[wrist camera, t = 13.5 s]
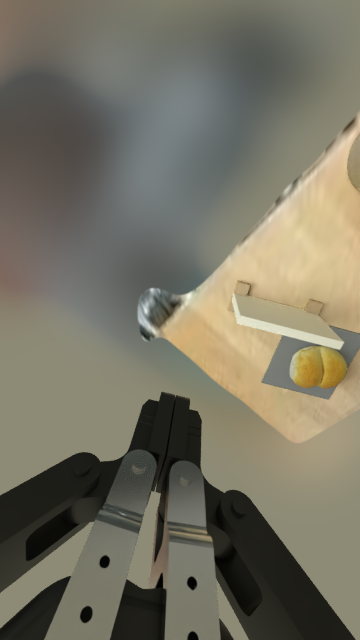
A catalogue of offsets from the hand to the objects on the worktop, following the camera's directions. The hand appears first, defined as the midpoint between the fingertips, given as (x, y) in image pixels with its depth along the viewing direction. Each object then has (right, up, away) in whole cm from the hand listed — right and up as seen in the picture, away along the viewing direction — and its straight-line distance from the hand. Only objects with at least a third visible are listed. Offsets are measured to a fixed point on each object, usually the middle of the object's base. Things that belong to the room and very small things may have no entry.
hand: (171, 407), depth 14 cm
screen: (+16, +7, +30) cm, 35 cm away
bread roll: (+24, -3, +34) cm, 42 cm away
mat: (+24, -3, +34) cm, 41 cm away
